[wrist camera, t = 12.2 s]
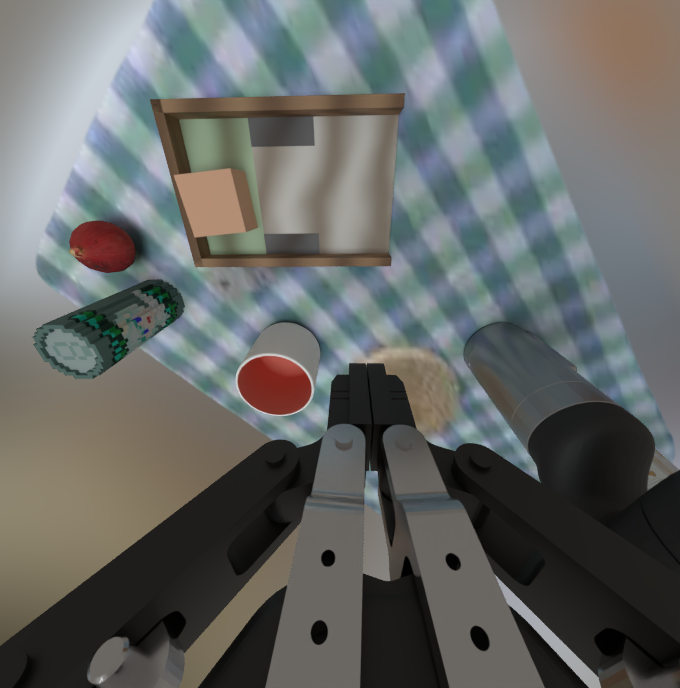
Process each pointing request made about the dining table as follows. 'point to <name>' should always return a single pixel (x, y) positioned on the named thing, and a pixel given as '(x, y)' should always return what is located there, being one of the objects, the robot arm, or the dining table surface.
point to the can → (108, 329)
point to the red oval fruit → (102, 246)
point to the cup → (280, 370)
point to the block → (217, 202)
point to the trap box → (292, 174)
